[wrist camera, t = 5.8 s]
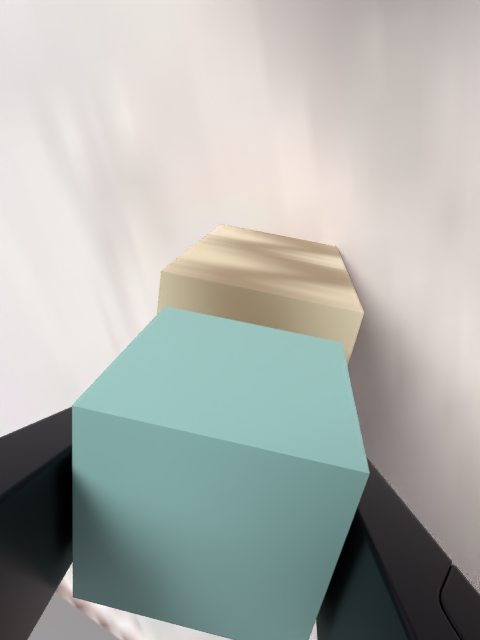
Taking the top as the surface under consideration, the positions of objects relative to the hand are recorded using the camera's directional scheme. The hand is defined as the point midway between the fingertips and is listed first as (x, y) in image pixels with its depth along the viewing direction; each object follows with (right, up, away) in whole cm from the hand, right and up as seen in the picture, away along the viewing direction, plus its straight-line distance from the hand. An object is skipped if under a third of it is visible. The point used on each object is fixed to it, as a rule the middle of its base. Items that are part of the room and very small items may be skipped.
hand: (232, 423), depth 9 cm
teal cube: (0, 0, +1) cm, 1 cm away
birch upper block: (+1, +2, +6) cm, 6 cm away
